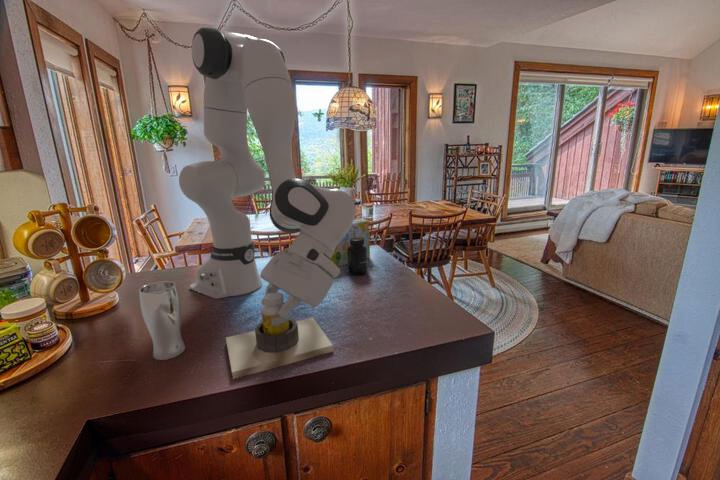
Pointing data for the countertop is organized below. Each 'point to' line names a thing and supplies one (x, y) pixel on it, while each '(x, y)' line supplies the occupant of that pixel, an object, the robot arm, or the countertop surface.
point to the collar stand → (276, 347)
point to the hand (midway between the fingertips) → (272, 310)
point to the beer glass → (162, 318)
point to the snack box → (356, 230)
